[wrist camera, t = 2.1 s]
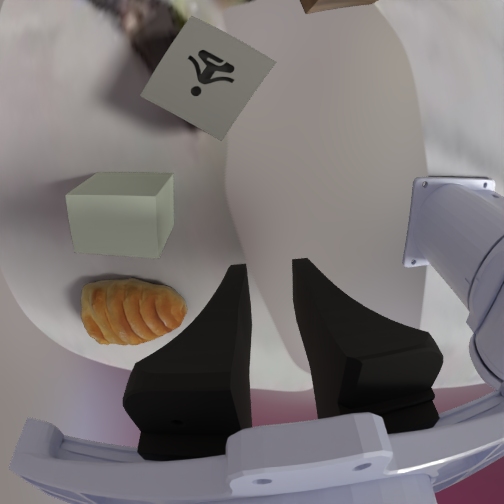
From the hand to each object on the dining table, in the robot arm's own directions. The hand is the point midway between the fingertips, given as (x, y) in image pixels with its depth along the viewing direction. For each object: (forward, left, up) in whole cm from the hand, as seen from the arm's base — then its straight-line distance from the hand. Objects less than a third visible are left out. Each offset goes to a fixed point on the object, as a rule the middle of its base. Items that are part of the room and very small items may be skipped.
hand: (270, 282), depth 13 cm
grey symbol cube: (+2, -9, -11) cm, 14 cm away
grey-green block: (+9, -1, -10) cm, 14 cm away
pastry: (+12, +8, -11) cm, 18 cm away
